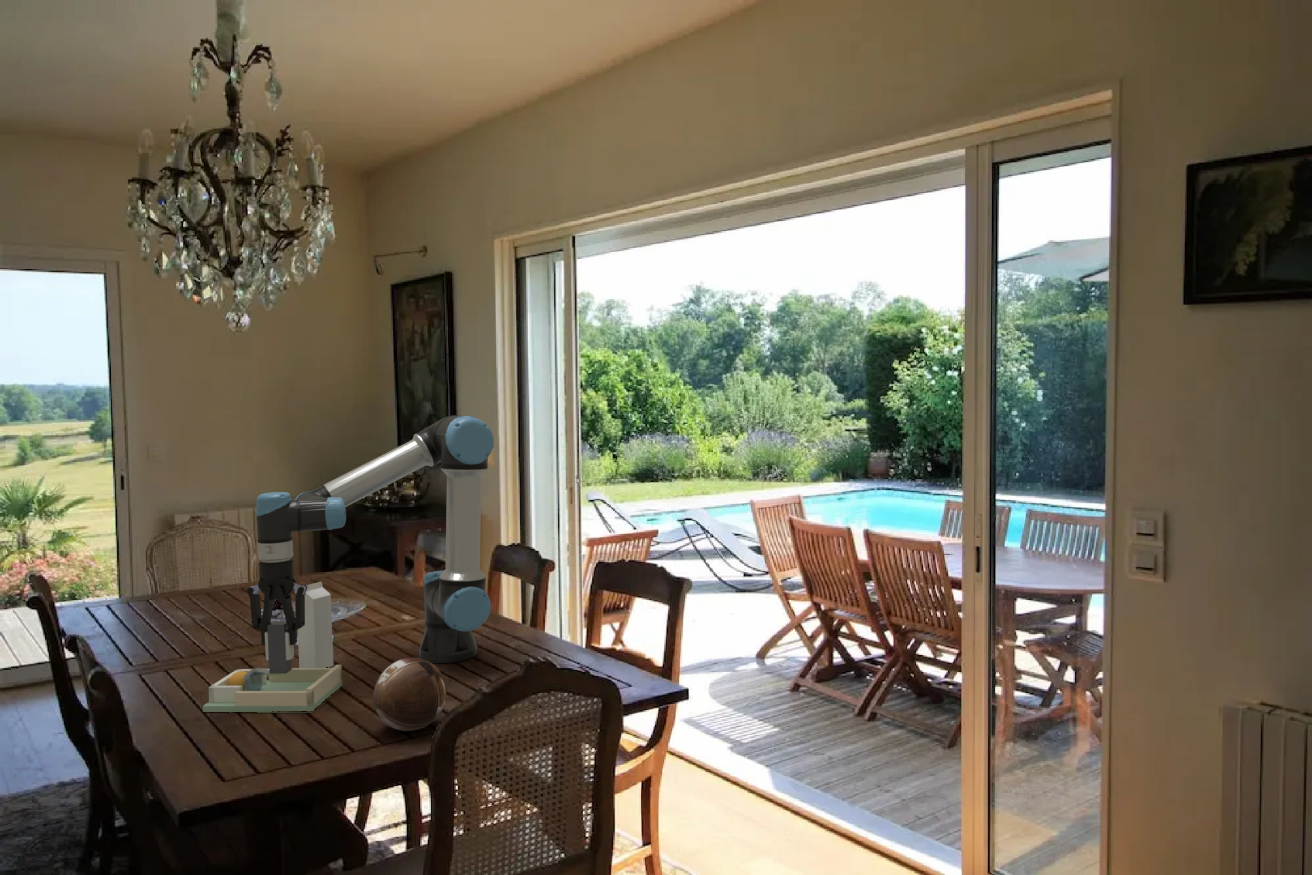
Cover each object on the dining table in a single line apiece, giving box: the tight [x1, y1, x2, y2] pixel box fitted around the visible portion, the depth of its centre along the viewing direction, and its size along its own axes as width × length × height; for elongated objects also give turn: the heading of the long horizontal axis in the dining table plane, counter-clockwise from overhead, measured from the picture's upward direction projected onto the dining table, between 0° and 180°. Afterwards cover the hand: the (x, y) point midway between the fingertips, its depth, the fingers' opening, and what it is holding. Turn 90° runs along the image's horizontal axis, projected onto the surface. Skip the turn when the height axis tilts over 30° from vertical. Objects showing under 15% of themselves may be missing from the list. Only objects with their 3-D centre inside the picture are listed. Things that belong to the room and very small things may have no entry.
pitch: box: [202, 664, 343, 714], centre depth 218 cm, size 25×18×5 cm
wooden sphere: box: [372, 657, 448, 732], centre depth 197 cm, size 15×15×15 cm
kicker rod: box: [244, 620, 293, 691], centre depth 217 cm, size 9×6×16 cm, turn 88°
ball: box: [229, 671, 248, 691], centre depth 218 cm, size 5×5×5 cm
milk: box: [297, 581, 334, 668], centre depth 241 cm, size 6×6×22 cm
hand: (280, 658), depth 217 cm, fingers closed on kicker rod, 4 cm apart
